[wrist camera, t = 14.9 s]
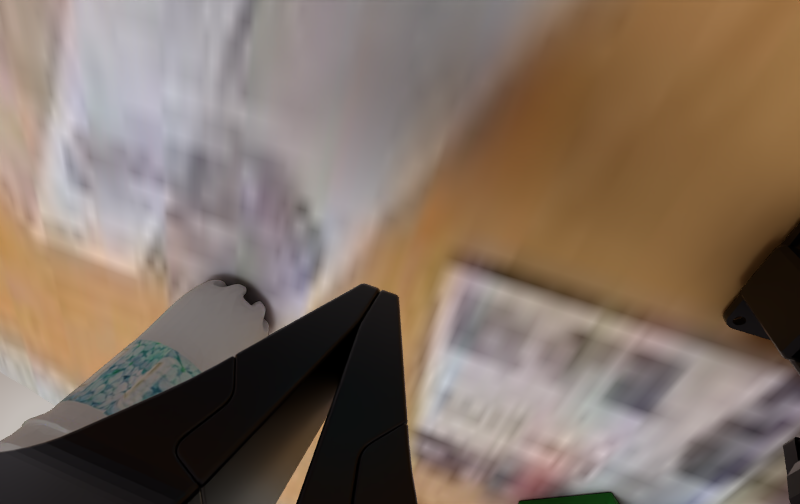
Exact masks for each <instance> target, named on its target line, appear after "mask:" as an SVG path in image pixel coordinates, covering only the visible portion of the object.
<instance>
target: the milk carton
mask: <svg viewBox="0 0 800 504" xmlns="http://www.w3.org/2000/svg"><path fill="white" fill-rule="evenodd" d="M519 504H619V503H618V501H617V500H616V499H615V497H614V496H613V494H612V493H600V494H589V495H579V496H569V497H558V498H548V499H538V500H528V501H519Z"/></svg>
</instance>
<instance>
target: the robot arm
mask: <svg viewBox="0 0 800 504" xmlns="http://www.w3.org/2000/svg"><path fill="white" fill-rule="evenodd" d="M740 292H741V293H740V294H739V296H738V297H737V298H736V299H735V300H734V302H733V303H732V304H731V305H730V306H729V308H728V309H727V310H726V311H725V313H724V315H723V318H724V320H725V322H726V324H727V325H728V326H729V327H730V328H733V329H736V330H739V331H742V332H746V333H749V334H752V335H756V336H759V337H762V338H766V339H769V340H771V341H772V342H773V344H774V345H775V347H776V348H777V350H778V351H779V353H780V354H781V356H782V357H783V358H785V359H788V360H789V361H790V362H791V363H792V365H793V366H794V368H795V369H796V371H797V372H798V374H799V375H800V223H799V224H798V225H797V226H796V227H795V229H794V230H793V231H792V232H791V233H790V235H789V236H788V237H787V238H786V239H785V241H784V242H783V243H782V244H781V245H780V246H779V247H777V248H776V249H775V250H774V251H773V252H772V253H771V255H770V256H769V257H768V258H767V259H766V261H765V262H764V263H763V264H762V265H761V267H760V268H759V269H758V270H757V271H756V273H755V274H754V275H753V276H752V277H751V279H750V280H749V281H748V282H747V283H746V285H745V286H744V287H743V288H742V290H741V291H740ZM736 317H742V318H740V319H737V320H733V319H734V318H736ZM326 417H327V418H326ZM325 419H326V420H325ZM324 421H325V423H324V426H323V429H322V432H321V435H320V438H319V440H318V443H317V446H316V449H315V452H314V455H313V457H312V460H311V463H310V466H309V469H308V472H307V474H306V477H305V480H304V483H303V486H302V489H301V492H300V494H299V497H298V500H297V503H296V504H417V498H416V492H415V486H414V480H413V474H412V466H411V456H410V447H409V434H408V425H407V408H406V394H405V379H404V365H403V350H402V336H401V322H400V307H399V297H398V296H397V295H396V294H393V293H390V292H387V291H385V290H382V291H380V290H379V289H378V288H376V287H373V286H371V285H368V284H360V285H358V286H357V287H355V288H353V289H351V290H350V291H348V292H346V293H344V294H342V295H341V296H339V297H337V298H335V299H333V300H332V301H330V302H328V303H326V304H324V305H323V306H321V307H319V308H317V309H316V310H314V311H312V312H310V313H308V314H307V315H305V316H303V317H301V318H299V319H298V320H296V321H294V322H292V323H290V324H289V325H287V326H285V327H283V328H282V329H280V330H278V331H276V332H274V333H273V334H271V335H269V336H267V337H265V338H264V339H262V340H260V341H258V342H256V343H255V344H253V345H251V346H249V347H248V348H246V349H244V350H242V351H240V352H239V353H237V354H236V355H235V357H234V356H231V357H229V358H227V359H226V360H224V361H222V362H220V363H219V364H217V365H215V366H213V367H211V368H209V369H207V370H205V371H204V372H202V373H200V374H198V375H196V376H194V377H192V378H190V379H188V380H186V381H184V382H182V383H180V384H178V385H176V386H173V387H171V388H169V389H167V390H165V391H163V392H161V393H159V394H156V395H154V396H152V397H150V398H147V399H145V400H143V401H141V402H138V403H136V404H134V405H132V406H129V407H127V408H125V409H123V410H120V411H118V412H116V413H114V414H111V415H109V416H107V417H105V418H102V419H100V420H98V421H96V422H93V423H91V424H89V425H87V426H84V427H82V428H80V429H78V430H75V431H73V432H70V433H68V434H66V435H63V436H61V437H58V438H55V439H52V440H49V441H46V442H43V443H40V444H36V445H32V446H29V447H24V448H20V449H15V450H9V451H2V452H0V504H276V502H277V501H278V499H279V497H280V495H281V494H282V492H283V490H284V489H285V487H286V485H287V483H288V482H289V480H290V478H291V477H292V475H293V473H294V472H295V470H296V468H297V466H298V465H299V463H300V461H301V460H302V458H303V456H304V455H305V453H306V451H307V449H308V448H309V446H310V444H311V443H312V441H313V439H314V438H315V436H316V434H317V432H318V431H319V429H320V427H321V426H322V424H323V422H324ZM783 449H784V456H785V463H786V470H787V481H788V492H789V500H790V503H791V504H800V438H798V437H795V438H793V439H792V440H790V441H788V442H787V443H785V444H784V445H783Z"/></svg>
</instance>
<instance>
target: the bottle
mask: <svg viewBox="0 0 800 504" xmlns="http://www.w3.org/2000/svg"><path fill="white" fill-rule="evenodd" d="M246 291H247V289H246V287H244V286H242V285H240V284H234V285H231V286H226V284H225V282H223V281H221V280H211V281H207V282H205V283H203V284H201V285H199V286H197V287H195V288H194V289H192V290H191V291H189V292H188V293H186V294H185V295H184V296H182V297H181V298H180V299H179V300H177V301H176V302H175V303H174V304H173V305H172V306H171V307H170V308H169V309H167V310H166V311H165V312H164V313H163V314H162V315H161V316H160V317H159V318H158V319H157V320H156V321H155V322H154V323H153V324H152V325H151V326H150V327H149V328H148V329H147V330H146V331H145V332H144V333H142V334H141V335H140V336H139V337H138V338H137V339H136V340H135V341H133V342H132V343H131V344H129V345H128V346H127V347H126V348H125V349H123V350H122V351H121V352H120V353H119V354H117V355H116V356H115V357H114V358H113V359H111V360H110V361H109V362H108V363H107V364H105V365H104V366H103V367H102V368H101V369H99V370H98V371H97V372H96V373H95V374H93V375H92V376H91V377H90V378H89V379H87V380H86V381H85V382H84V383H83V384H81V385H80V386H79V387H78V388H77V389H75V390H74V391H73V392H72V393H71V394H69V395H68V396H67V397H66V398H64V399H63V400H62V401H61V402H60V403H58V404H57V405H56V406H55V407H54V408H53V409H52V410H50V411H49V412H47V413H45V414H42V415H39V416H37V417H33V418H31V419H28V420H27V421H25V422H24V423H23V424H22V427H21V428H20V429H18V430H17V431H16V432H14V433H13V434H12V435H10V436H8V437H6V438H5V439H3V440H1V441H0V452H2V451H9V450H15V449H20V448H24V447H29V446H32V445H36V444H40V443H43V442H46V441H49V440H52V439H55V438H58V437H61V436H63V435H66V434H68V433H70V432H73V431H75V430H78V429H80V428H82V427H84V426H87V425H89V424H91V423H93V422H96V421H98V420H100V419H102V418H105V417H107V416H109V415H111V414H114V413H116V412H118V411H120V410H123V409H125V408H127V407H129V406H132V405H134V404H136V403H138V402H141V401H143V400H145V399H147V398H150V397H152V396H154V395H156V394H159V393H161V392H163V391H165V390H167V389H169V388H171V387H173V386H176V385H178V384H180V383H182V382H184V381H186V380H188V379H190V378H192V377H194V376H196V375H198V374H200V373H202V372H204V371H205V370H207V369H209V368H211V367H213V366H215V365H217V364H219V363H220V362H222V361H224V360H226V359H227V358H229V357H231V356H234V357H235V355H236V354H237V353H239V352H240V351H242V350H244V349H246V348H248V347H249V346H251V345H253V344H255V343H256V342H258V341H260V340H262V339H264V338H265V337H267V336H268V332H269V325H268V323H267V322H266V321H265V320H264V319H263V318H264V315H265V307H264V305H263V304H262V302H260V301H258V302H255V303H254V304H253V305H250V304H249V303H248V302H247V301H245V300H244V298H243V296H244V295H245V293H246Z"/></svg>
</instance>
